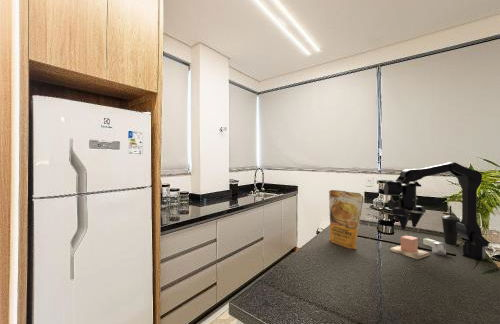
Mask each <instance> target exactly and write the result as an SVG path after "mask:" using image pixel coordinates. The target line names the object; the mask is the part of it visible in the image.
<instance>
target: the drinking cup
mask: <svg viewBox="0 0 500 324" xmlns="http://www.w3.org/2000/svg"><path fill="white" fill-rule="evenodd" d="M460 221H461V218H459V217H457V216H454V215H452V205H449V214H447V215H446V214H445V215H442V216H441V223H442V228H443V229H442V231H443V239H444V243H445V244H448V245H457V242H458V236H459V235H458V233H457V231H456V228H457V226H456V223H457V222H458V223H460Z"/></svg>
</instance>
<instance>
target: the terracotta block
mask: <svg viewBox="0 0 500 324" xmlns="http://www.w3.org/2000/svg"><path fill="white" fill-rule="evenodd" d="M410 236H411V235H403V236H400V245H401V250H404V251H407V252H411V253H414V252H417V251H418V250H419V243H418V242H419V239H418V237H415V236H411V237H410ZM414 237H415V238H414Z"/></svg>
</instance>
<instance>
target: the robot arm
mask: <svg viewBox="0 0 500 324" xmlns="http://www.w3.org/2000/svg"><path fill="white" fill-rule="evenodd" d="M447 172H448V173H450V174H452V175H453V176H454V177H455V178H457V181H458V184H459V186H460V188H461V192H462V193H461V194H462V195H461V196H462V197H461V198H462V199H461V204H462V206H461V212H462V213H461V215H462V216H461V219H460V221H459V223H458V222H457V223H456V226H457V228H456V231H457V233H458V236H459V237H460V238H461V240H462V241H464V242H463V244H462V256H463V257H466V258H470V259H474V260H476V261H477V260H478V261H484V260H485V259H487V256H486V248H488V247H489V245H490V242H489V241H488V240H487V239H486V238H485V237H484V236H483V233H482V229H481V226H480V225H479V223H478V218H477V215H478V213H477V212H478V211H477V210H478V209H477V207H478V206H477V205H478V204H477V203H478V201H477V199H478V193H477V192H478V188H479V187H480V186H481V184H482V180H483V174H482V173H481V172H480V171H478V170H476V169H471V168H469V167H467V166H463V165H462V164H459V163H457V162H456V161H455V162H453V161H452V162H451V161H449V162H446V163H442V164H436V165H433V166H427V167H423V168H407V169H403V170H401V171H400V173H399V176H398V177H397V178H396V180H395V181H391V180H385V183H384V185H383V192H384V195H385V196H400V197H399V198H398V200H395V199H389V200H388V201H387V205H388V207H390V210H391V215H392V214H393V216H395V217H396V218H397V219H398V221H399V224H400V228H401V230H403V231H405V230H406V228H407V225H408V222H409V219H411V225H412V228H416V227H417V225H418V223H419V222H420V220H421V219H422V217H423V216H424V215H425V213H426V207H425V206H421V205H417V201H419V198H418V197H417V187H422V185H421V184H420V183H419V181H420V180H421V179H423V178H425V177H429V176H433V175H434V176H435V175H439V174H443V173H447Z"/></svg>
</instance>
